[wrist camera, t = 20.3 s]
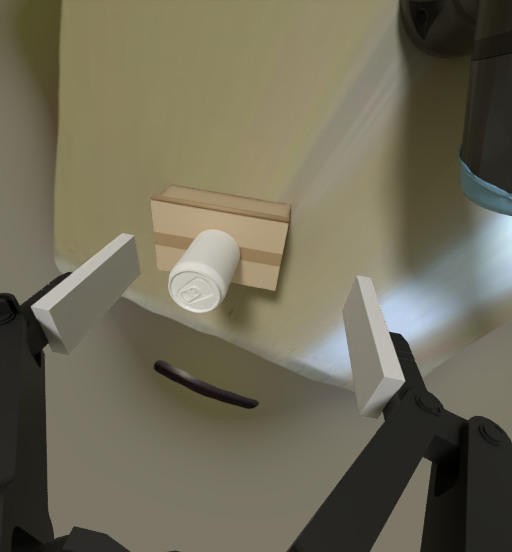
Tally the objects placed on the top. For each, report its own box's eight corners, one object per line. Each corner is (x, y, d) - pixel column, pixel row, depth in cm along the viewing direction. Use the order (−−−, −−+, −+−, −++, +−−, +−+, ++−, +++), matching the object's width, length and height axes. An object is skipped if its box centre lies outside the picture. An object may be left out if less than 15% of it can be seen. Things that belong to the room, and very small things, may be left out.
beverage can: (250, 257, 46) (235, 302, 36) (214, 276, 50) (192, 322, 40) (220, 218, 43) (195, 256, 33) (184, 242, 46) (152, 283, 37)
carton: (172, 185, 50) (152, 199, 44) (290, 205, 49) (288, 223, 42) (176, 246, 58) (159, 266, 51) (278, 265, 57) (275, 288, 50)
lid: (153, 193, 43) (149, 195, 43) (289, 216, 42) (289, 219, 41) (160, 266, 51) (157, 269, 51) (275, 287, 50) (275, 291, 49)
